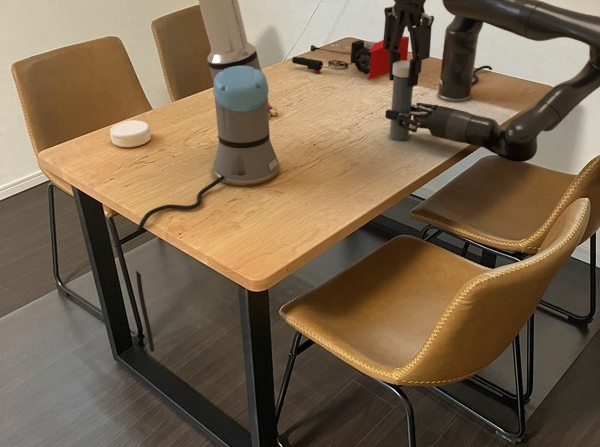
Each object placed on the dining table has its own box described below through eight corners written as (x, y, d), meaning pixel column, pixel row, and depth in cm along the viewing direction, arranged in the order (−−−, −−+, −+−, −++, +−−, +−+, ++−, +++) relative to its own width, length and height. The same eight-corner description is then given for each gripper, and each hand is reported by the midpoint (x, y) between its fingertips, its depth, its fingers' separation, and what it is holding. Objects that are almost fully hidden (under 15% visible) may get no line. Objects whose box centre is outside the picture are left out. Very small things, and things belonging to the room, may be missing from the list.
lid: (418, 76, 150) (419, 67, 149) (395, 78, 149) (396, 68, 148) (411, 69, 155) (412, 60, 153) (389, 70, 154) (390, 61, 153)
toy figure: (281, 107, 173) (253, 94, 180) (262, 114, 169) (235, 100, 176) (281, 115, 175) (253, 102, 182) (262, 122, 171) (235, 108, 178)
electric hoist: (290, 37, 203) (370, 51, 188) (334, 23, 222) (410, 35, 207) (290, 67, 208) (368, 84, 193) (333, 51, 227) (407, 65, 212)
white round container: (123, 151, 155) (121, 138, 153) (105, 139, 162) (102, 126, 160) (158, 140, 161) (156, 127, 159) (139, 128, 167) (137, 116, 165)
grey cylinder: (395, 142, 158) (401, 71, 148) (385, 134, 162) (390, 65, 152) (412, 138, 160) (418, 68, 150) (402, 131, 164) (407, 62, 154)
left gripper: (370, -20, 145) (366, 76, 157) (431, -7, 133) (421, 96, 145) (392, -25, 149) (386, 70, 161) (453, -13, 137) (442, 88, 149)
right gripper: (439, 149, 147) (376, 133, 156) (463, 129, 157) (403, 114, 166) (442, 120, 143) (378, 104, 152) (467, 101, 153) (405, 87, 162)
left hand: (403, 82), depth 153 cm, fingers closed on lid, 5 cm apart
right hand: (391, 110), depth 159 cm, fingers closed on grey cylinder, 5 cm apart
